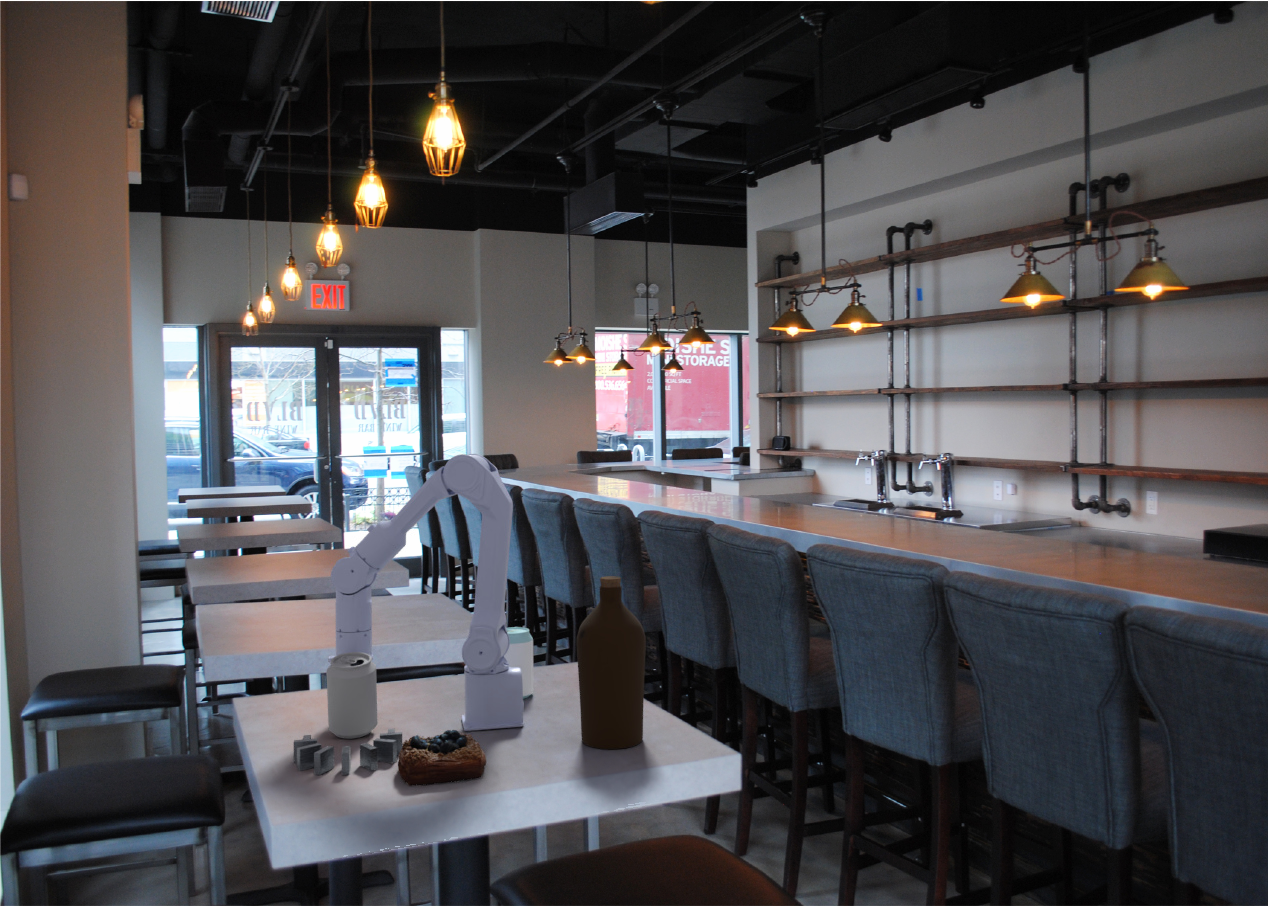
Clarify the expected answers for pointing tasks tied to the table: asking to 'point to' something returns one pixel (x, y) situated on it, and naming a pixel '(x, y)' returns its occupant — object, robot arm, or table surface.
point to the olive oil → (611, 672)
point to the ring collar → (346, 753)
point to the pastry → (441, 759)
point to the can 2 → (521, 656)
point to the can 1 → (352, 695)
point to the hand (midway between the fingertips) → (353, 712)
